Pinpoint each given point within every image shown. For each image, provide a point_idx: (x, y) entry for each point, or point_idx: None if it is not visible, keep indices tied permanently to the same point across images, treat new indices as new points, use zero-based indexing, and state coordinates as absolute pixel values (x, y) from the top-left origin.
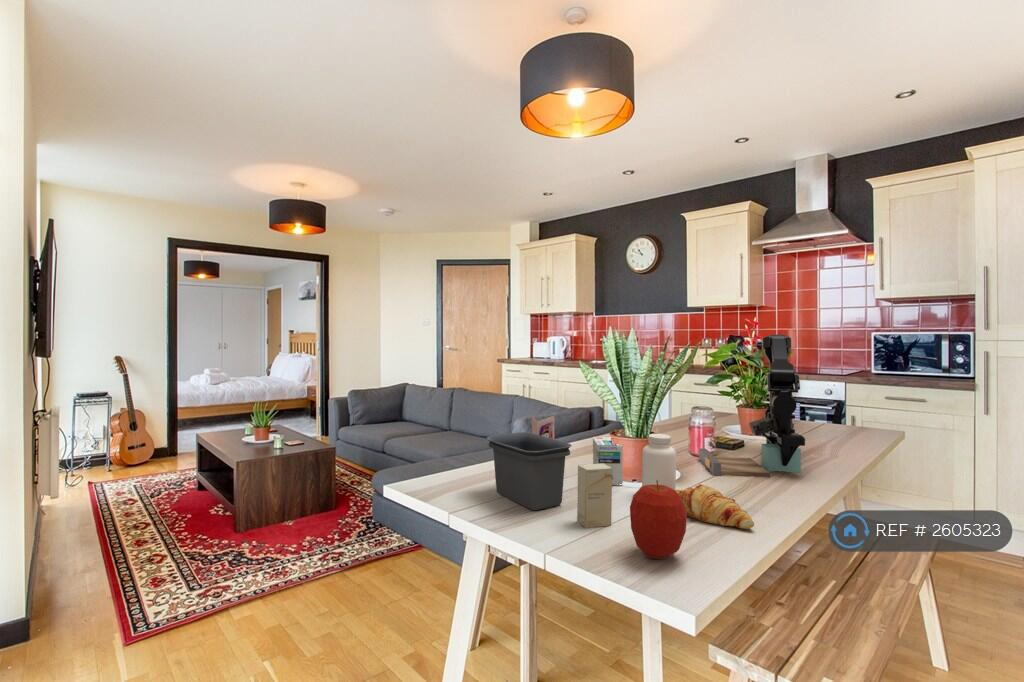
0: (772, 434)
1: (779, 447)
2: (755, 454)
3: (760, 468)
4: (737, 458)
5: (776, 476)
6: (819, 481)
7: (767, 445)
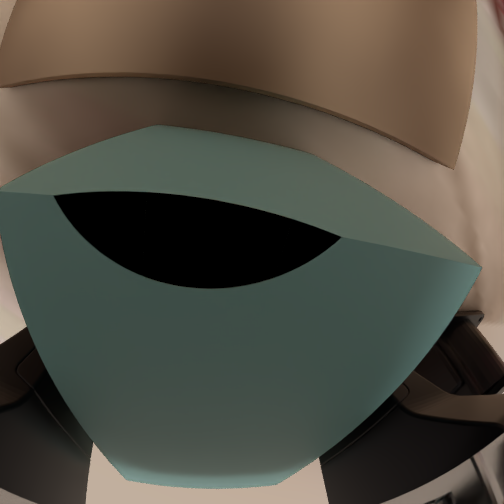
0: (452, 496)
1: (15, 397)
2: (485, 275)
3: (99, 38)
4: (452, 59)
5: (26, 139)
6: (13, 322)
7: (305, 324)
